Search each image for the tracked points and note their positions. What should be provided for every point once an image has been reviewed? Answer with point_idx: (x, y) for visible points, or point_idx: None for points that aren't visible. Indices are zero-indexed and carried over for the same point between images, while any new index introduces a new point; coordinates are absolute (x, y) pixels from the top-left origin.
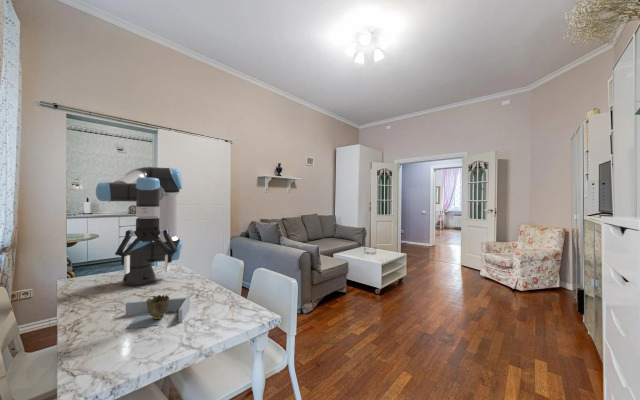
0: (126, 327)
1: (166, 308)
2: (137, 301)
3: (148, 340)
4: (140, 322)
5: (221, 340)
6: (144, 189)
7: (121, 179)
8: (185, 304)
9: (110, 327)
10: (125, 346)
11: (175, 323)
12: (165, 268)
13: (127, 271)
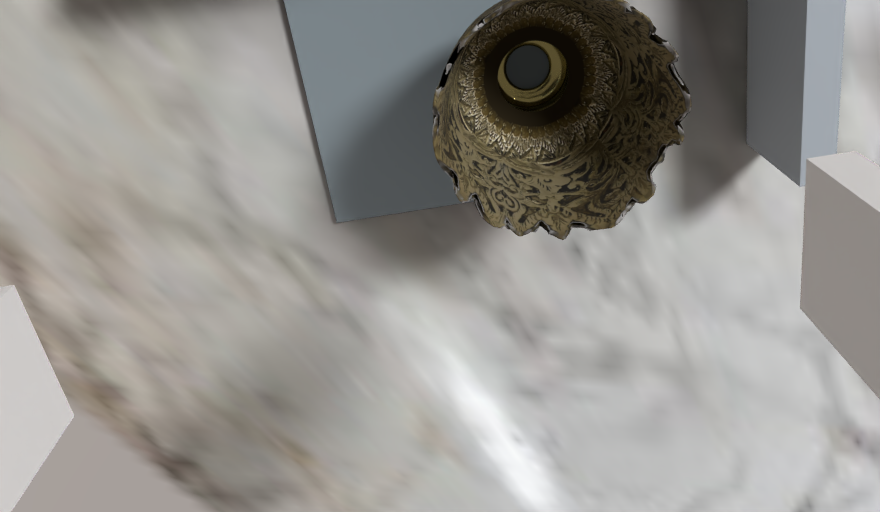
0: (335, 215)
1: (638, 101)
2: None
3: (606, 380)
4: (402, 135)
5: None
6: None
7: None
8: (842, 41)
9: (181, 181)
10: (491, 432)
11: (720, 151)
12: (848, 347)
13: (36, 402)
